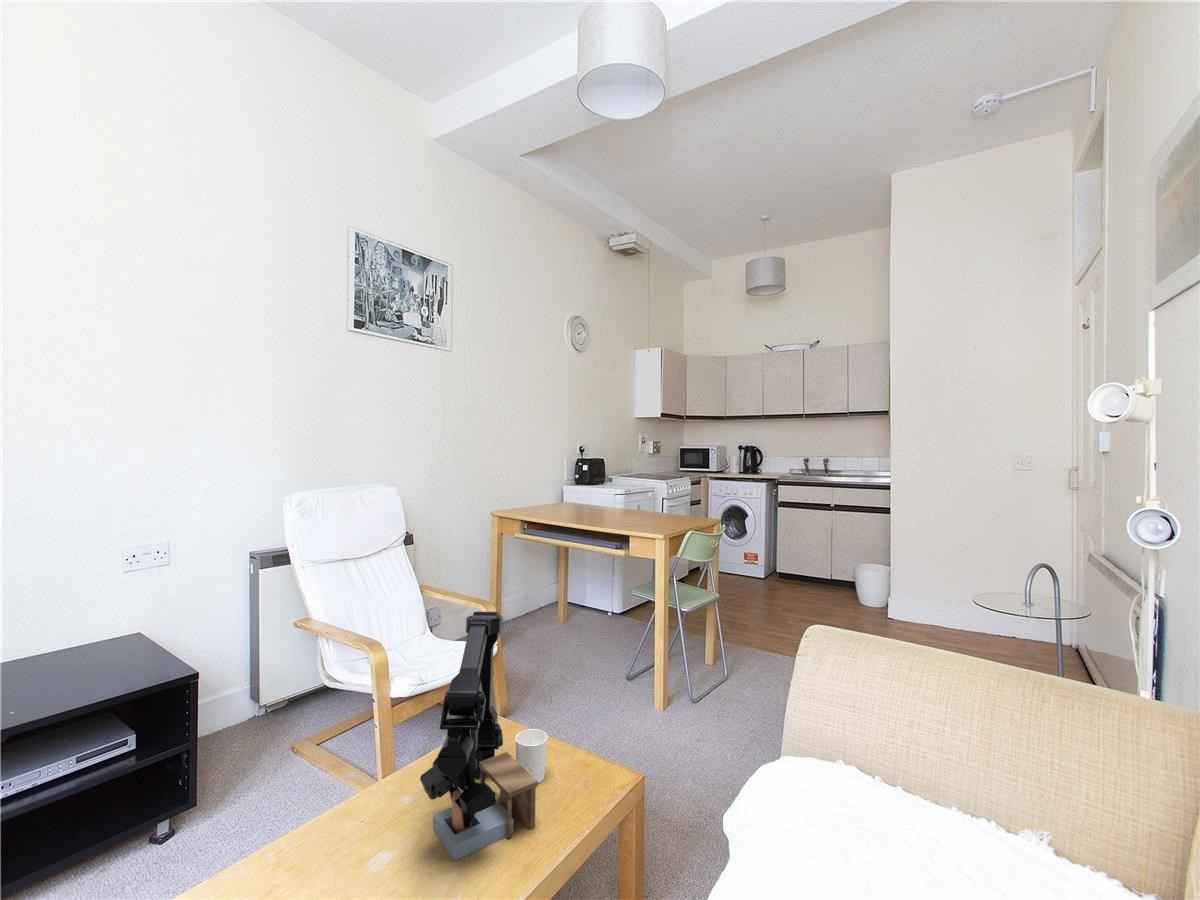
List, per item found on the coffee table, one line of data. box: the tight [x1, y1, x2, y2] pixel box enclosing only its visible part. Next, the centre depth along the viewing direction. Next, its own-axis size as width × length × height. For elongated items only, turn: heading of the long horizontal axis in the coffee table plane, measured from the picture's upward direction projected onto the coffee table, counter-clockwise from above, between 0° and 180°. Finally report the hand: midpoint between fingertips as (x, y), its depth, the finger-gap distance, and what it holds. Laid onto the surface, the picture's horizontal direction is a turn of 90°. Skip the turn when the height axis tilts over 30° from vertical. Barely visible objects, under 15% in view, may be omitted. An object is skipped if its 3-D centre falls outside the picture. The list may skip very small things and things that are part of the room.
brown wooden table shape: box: [479, 751, 539, 840], centre depth 120 cm, size 14×7×10 cm, turn 38°
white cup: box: [514, 728, 548, 784], centre depth 135 cm, size 8×8×10 cm
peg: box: [451, 788, 472, 834], centre depth 114 cm, size 4×4×8 cm
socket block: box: [432, 799, 514, 861], centre depth 115 cm, size 11×13×3 cm
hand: (462, 821), depth 114 cm, fingers closed on peg, 4 cm apart
